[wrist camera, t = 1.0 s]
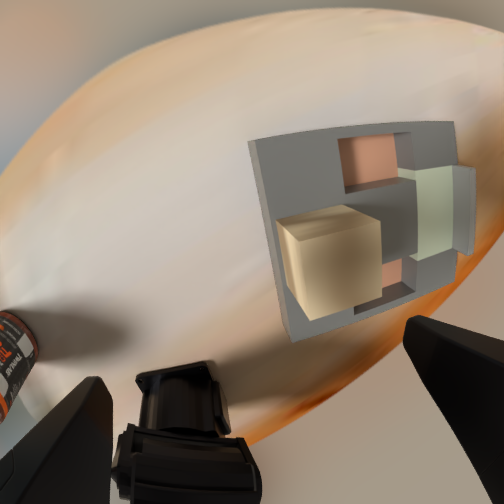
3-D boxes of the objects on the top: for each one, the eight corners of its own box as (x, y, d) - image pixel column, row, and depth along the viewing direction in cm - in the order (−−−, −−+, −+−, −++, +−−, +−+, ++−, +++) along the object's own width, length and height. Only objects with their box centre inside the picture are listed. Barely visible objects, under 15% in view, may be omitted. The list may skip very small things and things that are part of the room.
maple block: (286, 285, 19) (310, 320, 15) (275, 219, 18) (299, 242, 13) (348, 267, 19) (382, 296, 15) (342, 204, 18) (380, 221, 14)
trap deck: (283, 324, 23) (300, 359, 19) (247, 141, 18) (261, 138, 14) (437, 271, 25) (468, 290, 20) (433, 121, 20) (471, 121, 15)
